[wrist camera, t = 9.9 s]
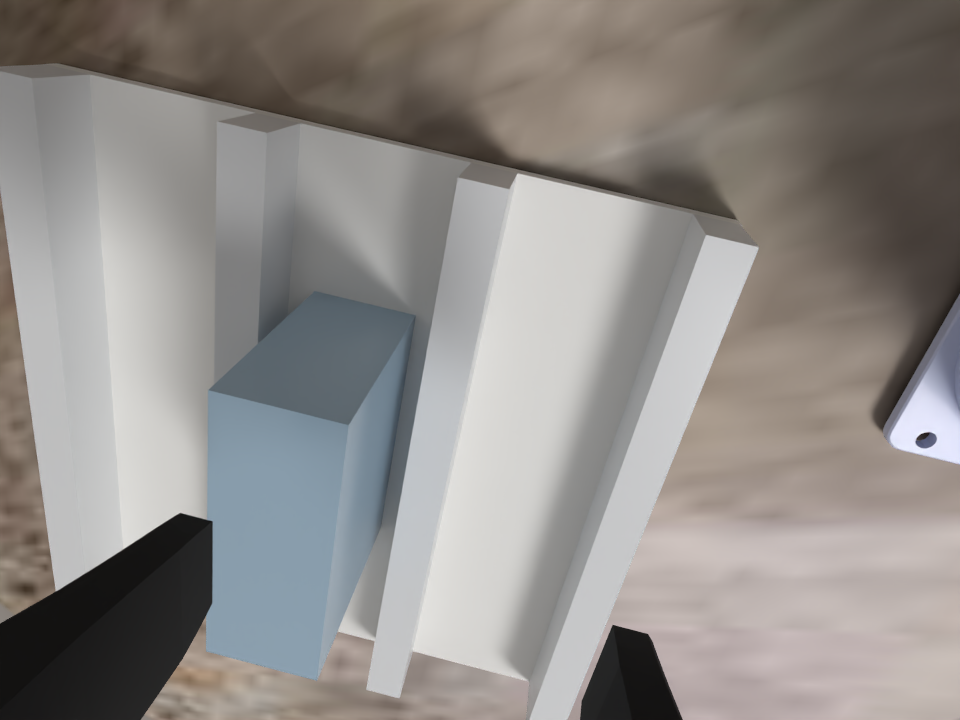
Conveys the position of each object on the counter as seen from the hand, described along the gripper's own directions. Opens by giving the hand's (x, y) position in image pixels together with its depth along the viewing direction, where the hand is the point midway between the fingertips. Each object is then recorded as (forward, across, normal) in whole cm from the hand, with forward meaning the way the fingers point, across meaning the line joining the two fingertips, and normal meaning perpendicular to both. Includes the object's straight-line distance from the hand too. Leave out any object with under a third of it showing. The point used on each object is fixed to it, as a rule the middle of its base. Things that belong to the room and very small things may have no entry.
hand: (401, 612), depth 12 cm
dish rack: (+9, +4, +3) cm, 10 cm away
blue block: (+9, +4, +2) cm, 10 cm away
